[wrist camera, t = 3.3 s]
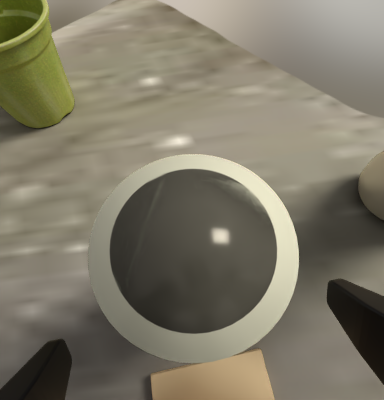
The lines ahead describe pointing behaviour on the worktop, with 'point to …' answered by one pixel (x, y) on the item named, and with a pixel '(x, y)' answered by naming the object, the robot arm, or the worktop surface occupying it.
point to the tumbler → (193, 258)
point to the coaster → (216, 380)
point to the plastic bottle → (373, 186)
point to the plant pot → (31, 66)
